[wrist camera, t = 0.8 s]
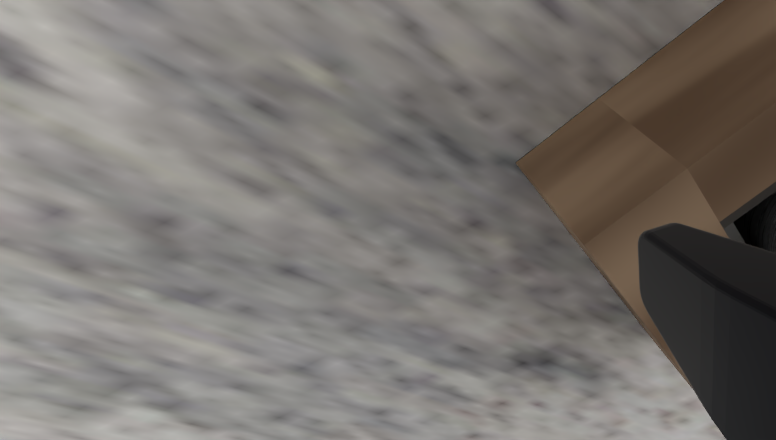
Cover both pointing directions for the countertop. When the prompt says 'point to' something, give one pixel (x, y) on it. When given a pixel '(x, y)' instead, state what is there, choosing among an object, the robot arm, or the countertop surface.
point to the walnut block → (669, 147)
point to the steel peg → (761, 225)
